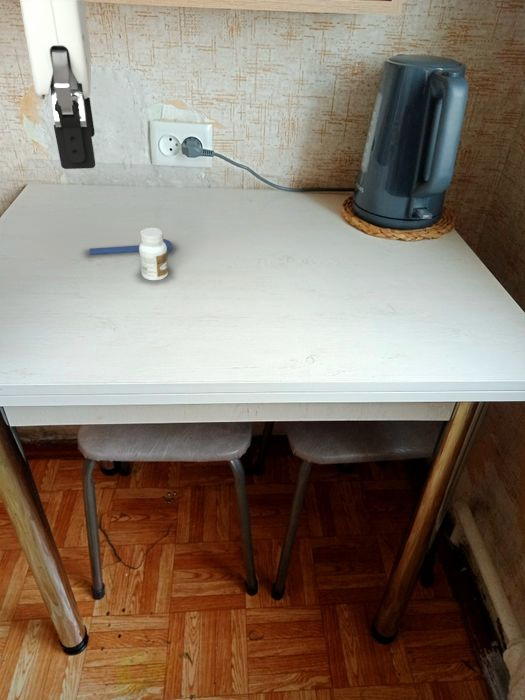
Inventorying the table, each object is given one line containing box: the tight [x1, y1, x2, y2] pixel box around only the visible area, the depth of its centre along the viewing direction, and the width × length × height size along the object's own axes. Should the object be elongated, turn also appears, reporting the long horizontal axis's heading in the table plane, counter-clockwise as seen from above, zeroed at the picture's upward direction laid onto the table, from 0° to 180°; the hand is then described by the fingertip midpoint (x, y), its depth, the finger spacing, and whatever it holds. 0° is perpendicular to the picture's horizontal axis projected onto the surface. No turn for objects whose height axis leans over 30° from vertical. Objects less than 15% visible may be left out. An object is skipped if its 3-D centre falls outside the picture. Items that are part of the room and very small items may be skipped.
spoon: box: [89, 238, 172, 256], centre depth 91 cm, size 14×4×1 cm, turn 105°
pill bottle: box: [138, 227, 169, 281], centre depth 83 cm, size 4×4×8 cm
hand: (79, 150), depth 54 cm, fingers open, 9 cm apart
